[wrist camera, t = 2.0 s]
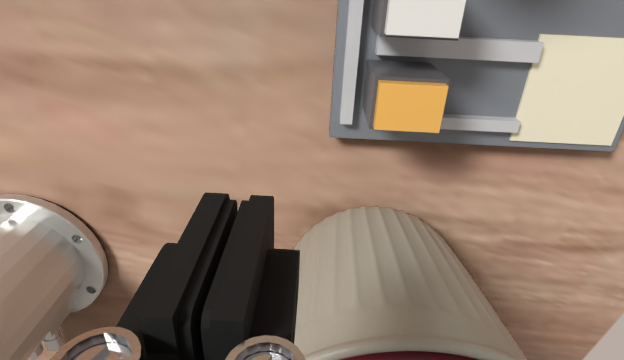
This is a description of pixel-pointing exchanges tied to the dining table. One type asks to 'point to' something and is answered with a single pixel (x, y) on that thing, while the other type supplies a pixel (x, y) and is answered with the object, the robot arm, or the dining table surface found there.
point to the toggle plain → (418, 18)
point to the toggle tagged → (404, 96)
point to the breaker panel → (500, 74)
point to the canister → (391, 294)
